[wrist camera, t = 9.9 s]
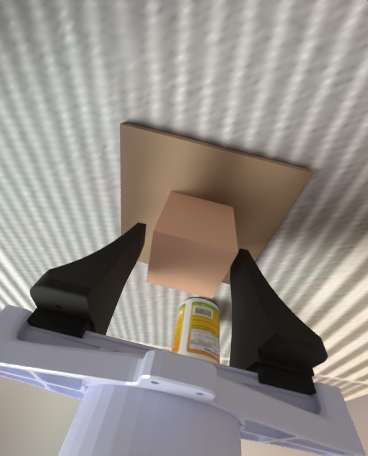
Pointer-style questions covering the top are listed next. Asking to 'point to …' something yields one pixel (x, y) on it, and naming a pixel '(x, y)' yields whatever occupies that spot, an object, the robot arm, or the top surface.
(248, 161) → the walnut board
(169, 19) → the top surface
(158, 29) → the top surface
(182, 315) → the supplement bottle
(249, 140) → the top surface
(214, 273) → the terracotta block
